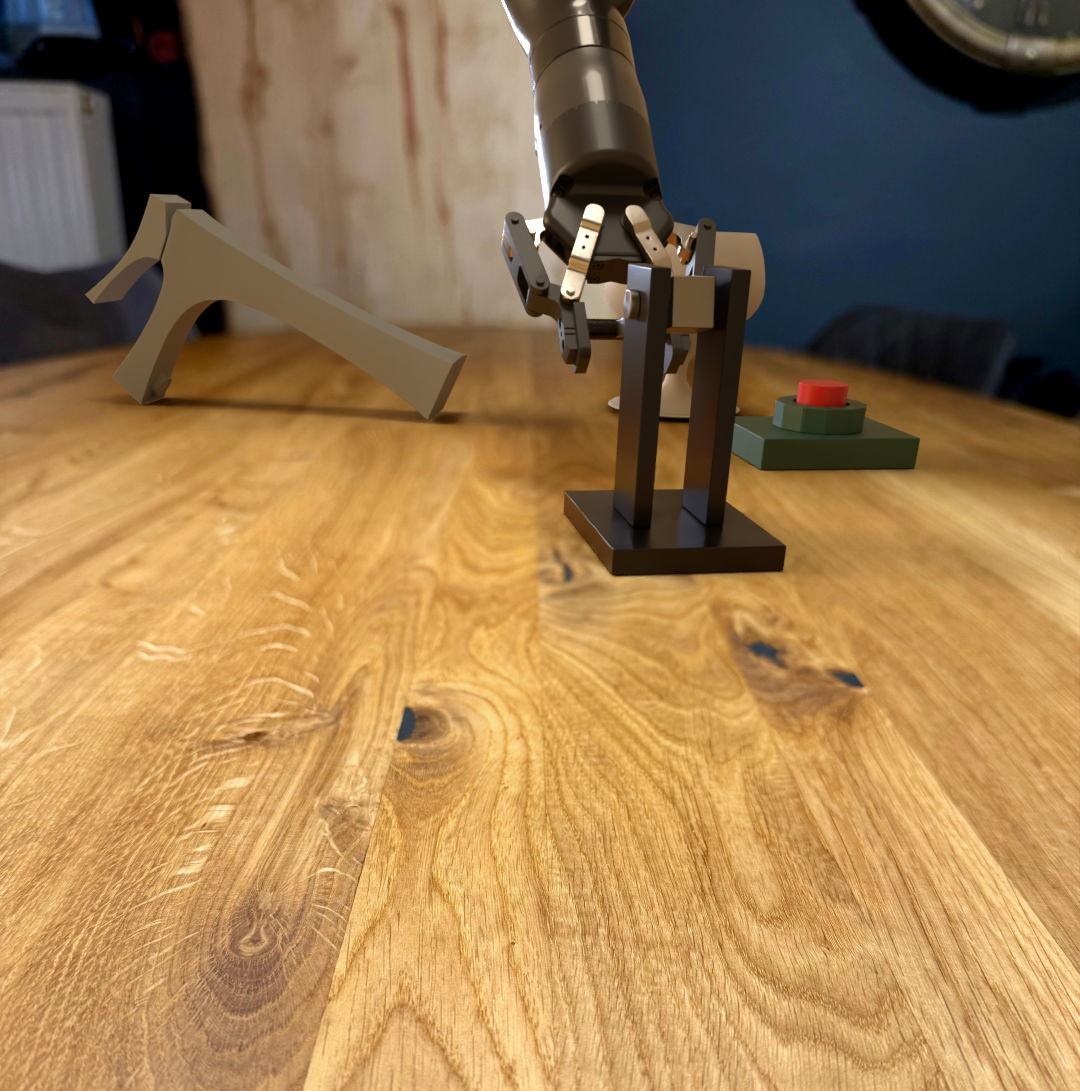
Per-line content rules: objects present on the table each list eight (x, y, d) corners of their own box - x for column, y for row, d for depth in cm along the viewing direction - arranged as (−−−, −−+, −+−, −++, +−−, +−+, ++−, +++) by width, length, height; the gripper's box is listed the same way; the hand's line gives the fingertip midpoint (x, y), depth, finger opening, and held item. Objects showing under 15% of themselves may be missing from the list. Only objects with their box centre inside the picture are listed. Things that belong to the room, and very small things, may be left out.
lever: (580, 350, 63) (581, 309, 63) (659, 351, 64) (660, 310, 64) (643, 327, 50) (645, 274, 50) (741, 328, 51) (743, 276, 50)
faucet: (393, 517, 96) (98, 357, 94) (469, 352, 89) (151, 172, 86) (374, 536, 91) (61, 365, 88) (454, 361, 83) (114, 169, 81)
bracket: (563, 512, 61) (573, 258, 55) (707, 509, 63) (733, 262, 57) (611, 575, 51) (631, 270, 45) (783, 570, 52) (824, 275, 46)
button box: (859, 443, 84) (868, 392, 82) (915, 468, 76) (925, 412, 74) (718, 444, 81) (724, 392, 80) (760, 470, 74) (767, 412, 72)
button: (832, 403, 79) (836, 379, 78) (853, 411, 76) (857, 386, 75) (788, 403, 78) (791, 379, 77) (807, 411, 75) (811, 386, 74)
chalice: (571, 401, 98) (579, 226, 92) (696, 395, 104) (711, 231, 97) (645, 427, 87) (660, 230, 80) (781, 420, 92) (805, 235, 86)
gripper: (491, 90, 63) (519, 322, 57) (716, 101, 65) (763, 324, 60) (480, 189, 70) (504, 404, 64) (683, 196, 72) (723, 403, 67)
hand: (629, 364), depth 62 cm, fingers closed on lever, 5 cm apart
